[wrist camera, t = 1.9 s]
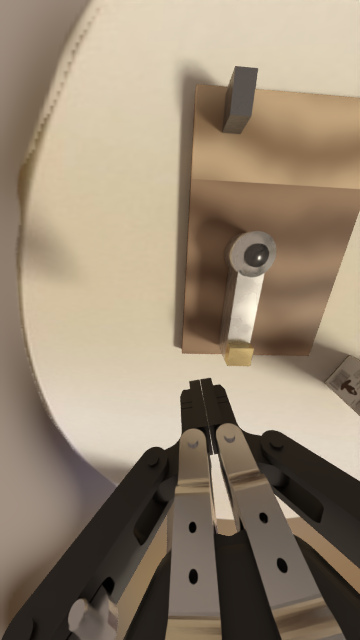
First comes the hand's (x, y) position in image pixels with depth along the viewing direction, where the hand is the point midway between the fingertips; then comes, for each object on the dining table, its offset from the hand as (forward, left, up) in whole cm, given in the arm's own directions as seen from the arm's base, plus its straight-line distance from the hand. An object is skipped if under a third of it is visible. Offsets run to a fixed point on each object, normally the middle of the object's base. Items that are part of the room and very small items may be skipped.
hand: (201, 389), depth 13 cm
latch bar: (-3, +6, -13) cm, 15 cm away
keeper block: (-21, +3, -13) cm, 25 cm away
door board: (-9, +9, -14) cm, 19 cm away
